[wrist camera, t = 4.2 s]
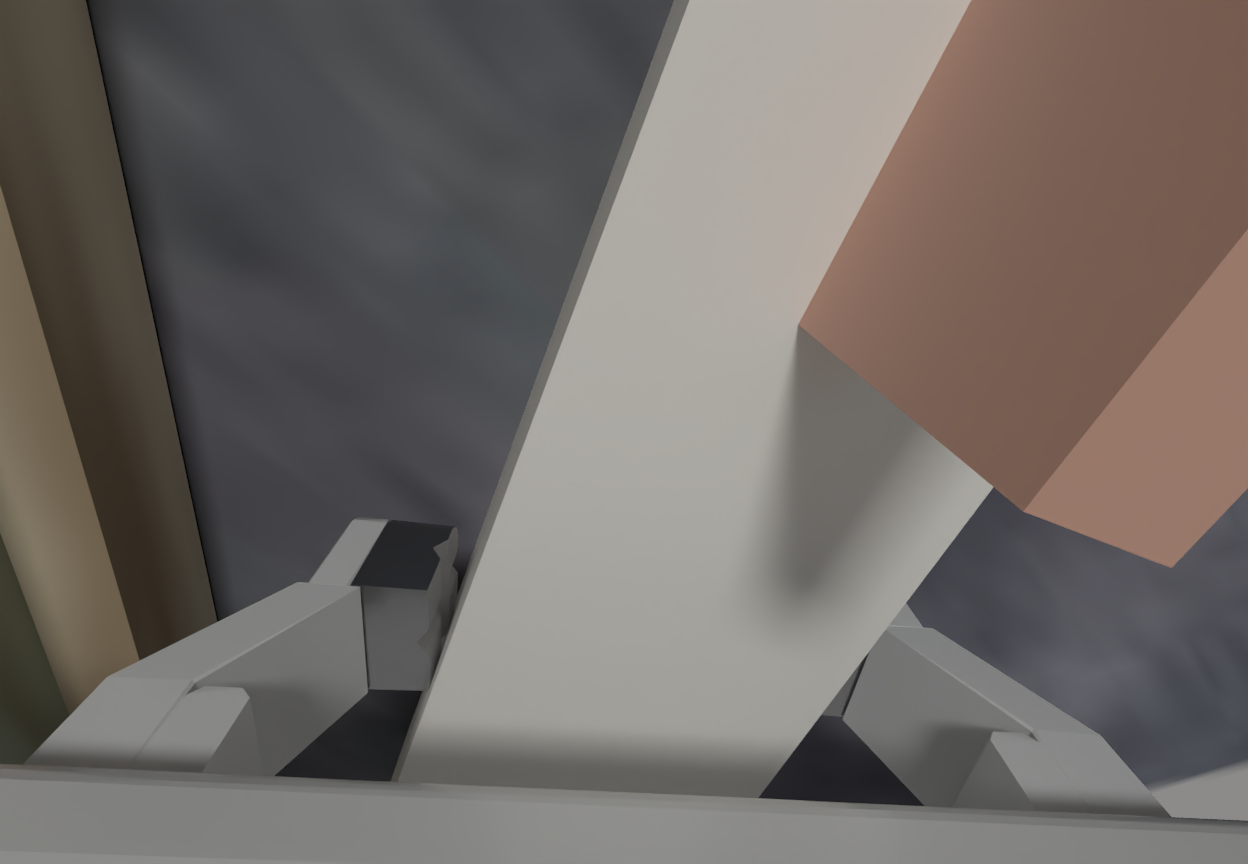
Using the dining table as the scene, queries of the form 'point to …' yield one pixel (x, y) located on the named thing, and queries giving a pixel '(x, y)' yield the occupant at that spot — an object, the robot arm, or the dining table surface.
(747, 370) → the white bar with tab
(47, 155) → the tray
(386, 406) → the dining table surface
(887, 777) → the dining table surface
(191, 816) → the robot arm
